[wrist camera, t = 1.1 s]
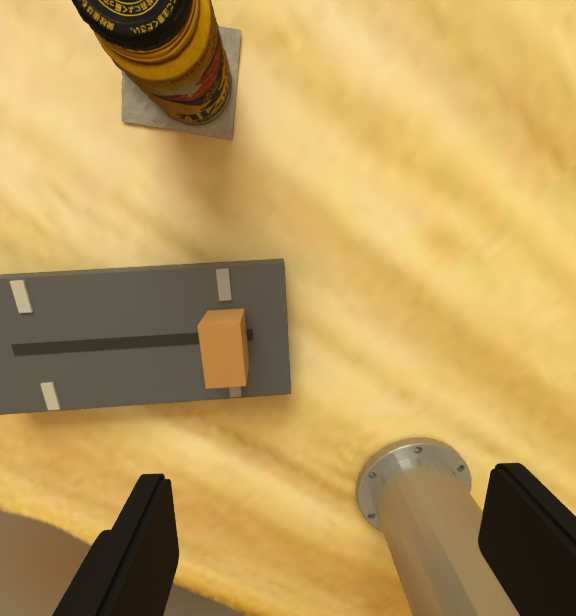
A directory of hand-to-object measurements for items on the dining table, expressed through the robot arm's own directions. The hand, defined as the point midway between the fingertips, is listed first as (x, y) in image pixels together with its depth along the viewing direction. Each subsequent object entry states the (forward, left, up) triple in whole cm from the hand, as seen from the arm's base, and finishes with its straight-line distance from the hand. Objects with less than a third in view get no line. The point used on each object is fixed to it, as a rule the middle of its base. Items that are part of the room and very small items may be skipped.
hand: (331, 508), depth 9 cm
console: (-1, +13, -21) cm, 25 cm away
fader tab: (-1, +5, -18) cm, 19 cm away
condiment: (+19, +7, -21) cm, 29 cm away
